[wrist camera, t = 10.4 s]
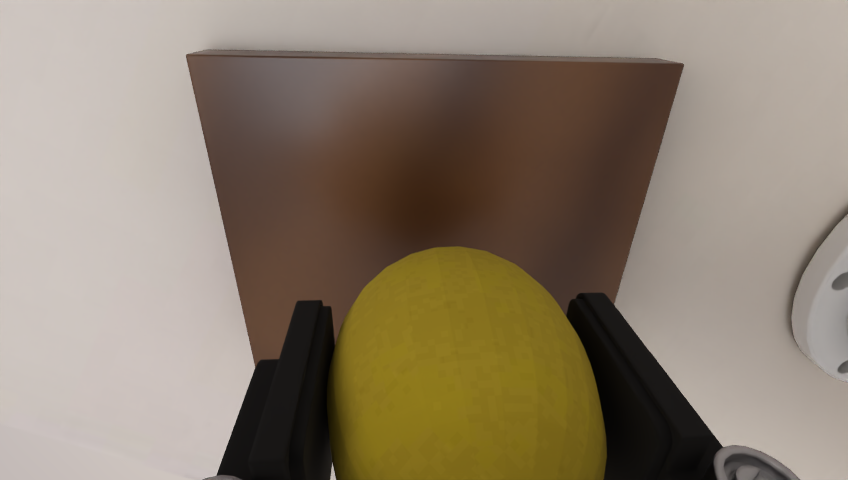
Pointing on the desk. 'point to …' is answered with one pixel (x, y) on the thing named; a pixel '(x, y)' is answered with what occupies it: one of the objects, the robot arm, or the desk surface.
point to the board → (424, 167)
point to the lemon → (461, 377)
